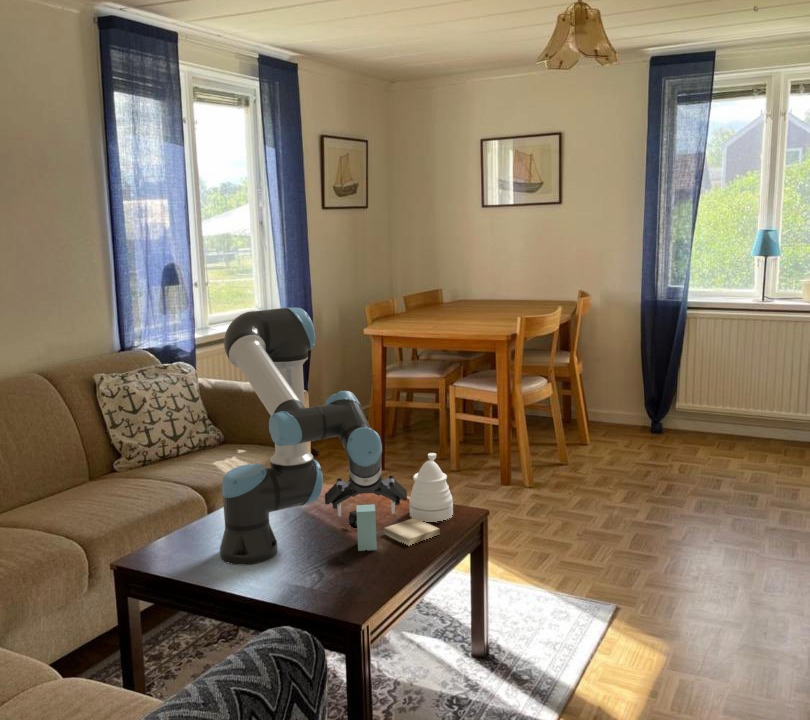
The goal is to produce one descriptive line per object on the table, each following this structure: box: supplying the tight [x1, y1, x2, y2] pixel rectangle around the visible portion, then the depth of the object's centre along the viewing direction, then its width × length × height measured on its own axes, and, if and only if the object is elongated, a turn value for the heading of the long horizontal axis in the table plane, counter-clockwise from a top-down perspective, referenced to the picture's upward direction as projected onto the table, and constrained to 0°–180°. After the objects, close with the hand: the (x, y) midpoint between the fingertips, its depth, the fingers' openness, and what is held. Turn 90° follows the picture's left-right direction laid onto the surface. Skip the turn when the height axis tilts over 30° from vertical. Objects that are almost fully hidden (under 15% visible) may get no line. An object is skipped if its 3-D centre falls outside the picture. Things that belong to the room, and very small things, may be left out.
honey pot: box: [408, 452, 454, 523], centre depth 248 cm, size 13×13×18 cm
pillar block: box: [355, 503, 378, 552], centre depth 227 cm, size 5×5×11 cm
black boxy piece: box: [348, 509, 357, 528], centre depth 243 cm, size 12×7×5 cm, turn 129°
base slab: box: [383, 518, 441, 547], centre depth 234 cm, size 11×11×2 cm
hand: (366, 510), depth 215 cm, fingers open, 13 cm apart
